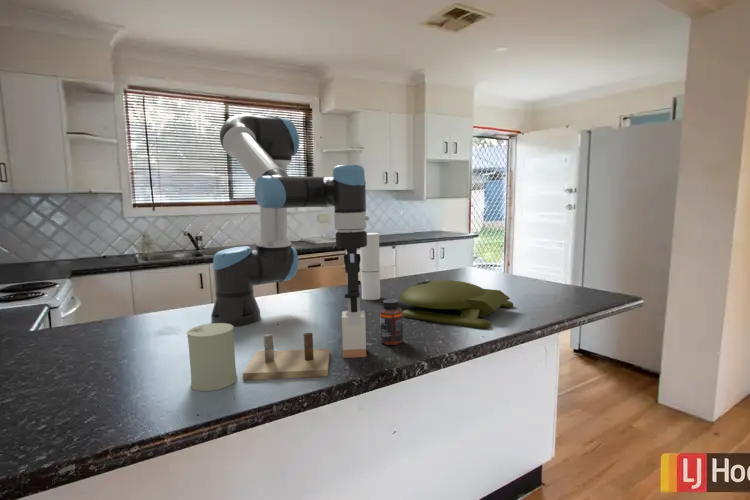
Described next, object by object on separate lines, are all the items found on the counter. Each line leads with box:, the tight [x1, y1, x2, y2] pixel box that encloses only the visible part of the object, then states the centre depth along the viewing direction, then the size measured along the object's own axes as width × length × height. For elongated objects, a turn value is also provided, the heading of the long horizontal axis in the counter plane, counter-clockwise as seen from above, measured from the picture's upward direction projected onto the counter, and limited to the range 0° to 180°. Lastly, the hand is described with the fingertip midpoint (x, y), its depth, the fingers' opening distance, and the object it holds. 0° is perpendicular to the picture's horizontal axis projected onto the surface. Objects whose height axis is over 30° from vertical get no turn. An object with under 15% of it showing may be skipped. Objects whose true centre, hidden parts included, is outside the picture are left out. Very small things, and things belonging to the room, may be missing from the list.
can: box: [186, 322, 238, 392], centre depth 87 cm, size 9×9×12 cm
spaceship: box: [399, 279, 514, 330], centre depth 140 cm, size 35×31×10 cm
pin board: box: [242, 332, 331, 381], centre depth 95 cm, size 18×13×8 cm
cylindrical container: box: [360, 232, 381, 301], centre depth 159 cm, size 7×7×25 cm
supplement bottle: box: [379, 298, 404, 346], centre depth 110 cm, size 6×6×11 cm
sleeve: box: [341, 310, 367, 359], centre depth 102 cm, size 6×6×10 cm
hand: (354, 317), depth 101 cm, fingers open, 13 cm apart
